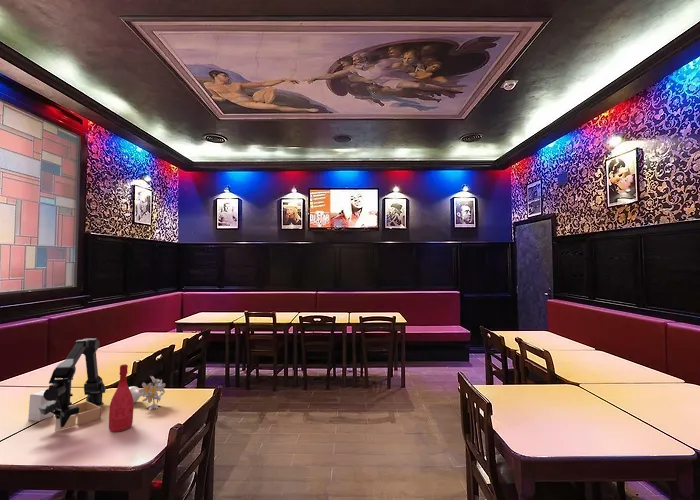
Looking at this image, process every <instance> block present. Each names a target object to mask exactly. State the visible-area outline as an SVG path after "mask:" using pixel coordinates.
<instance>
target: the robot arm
mask: <svg viewBox="0 0 700 500" xmlns="http://www.w3.org/2000/svg"><path fill="white" fill-rule="evenodd" d="M99 349H100V340H99V339H98V337H97V338H83V339H78V340H76V341H75V343H74V346H73V347H72V349H71V350H70V352H69V353H68V355H67V356H66V358H65V360H63V361H62V362H60V363H59V364H58V365H56V367H55V368H54V370H53V372H52V373H51V376H50V378H49V381H48V384H49V386H48V388H47V389H45V390H46V391H45V392H44V394H43V396H44V398H45V399H46V400H48V402H46V403H45V404H43V405H41V406H39V410H40V412H41V414H44V415H46V414H48V413H49V412H51V413H53V414H54V417H55V420H56V419H58V418H60V424H61V427H64V426H65V424H66V422H67V421H68V419H69V417H70V416H71V415H74V414H77V413H79V411H80V408H78V407H76V406H71V405H73V402H71V397H73V393H72V392H71V391H72V381H73V380H74V376H75V374H76V370H77V369H76V368H77V367H76V365H77V363H78V361H79V360H80V358H81V356H82V355H84V358H85V359H84V360H85V367H86V376H87V377H86V378H87V380H86V381H85V382H84V383H83V393H84V396H86V395H87V396H86V399H85V402H86V401H88V402H90V403H92V404H95V405H97V406H99V405H103V404H104V401H103V395H104V394H105V393H106V390H107V387H106V386H105V383H104V381H103V378H102V377H101V376H100V375H99V372H98V371H99V369H98V360H97V351H98V350H99ZM69 406H70V407H69Z"/></svg>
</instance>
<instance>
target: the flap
mask: <svg viewBox="0 0 700 500" xmlns="http://www.w3.org/2000/svg"><path fill="white" fill-rule="evenodd" d="M54 423H55V424H54V432H58V431H60V430H65V429H70V428H74V427H76V425H75V424H76V415H72V416H70V417H69V419H68V421H67V422H66V424H65V426H64V427H61V424H60V418H58V419H56V418H55V422H54Z"/></svg>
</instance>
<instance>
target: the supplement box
mask: <svg viewBox="0 0 700 500" xmlns="http://www.w3.org/2000/svg"><path fill="white" fill-rule="evenodd" d="M46 390H47V389H44V390H42V391H39V392H38V391H37V392H34V393H31V394H30V395H29V402H28V403H29V406H28V417H27V420H29V421H35V422H41V421H43V420H45V419H48V418H50V417H55V415H54V414H53V413H51V412H49V413H48V414H46V415H44V414H41V412H40V410H39V406H41V405H43V404H45V403H46V402H48V400H46V399H45V398H44V396H43V394H44V392H45V391H46Z"/></svg>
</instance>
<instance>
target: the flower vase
mask: <svg viewBox="0 0 700 500" xmlns="http://www.w3.org/2000/svg"><path fill="white" fill-rule="evenodd" d="M149 377H150V380H151V381H152V382H149V383H147V384H146V382H142V383H141V386H142V388H139V387H138V386H134V385H133V386H128V387H129V390H130V392H131V394H132V397H133V401H134V404H135V403H137V402H138V401H139V399H140V398H141V397H143V398H144V399H142V402H147V403H149V404H150V406H148V407H146V408H148V409H149V410H150V411H151V409H152V410H153V409H154V410H156V409H155V408H159V407H158V406H161V405H159V404H158V403H159V402H160V401H161V399H162V396H163V395H164V394H165V393H166V391H165V387H166V383H163V379H159V378H155V377H154V376H153V375H149ZM158 392H160V393H158ZM155 400H156V402H155ZM152 401H153V402H152ZM151 403H152V404H151Z"/></svg>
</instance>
